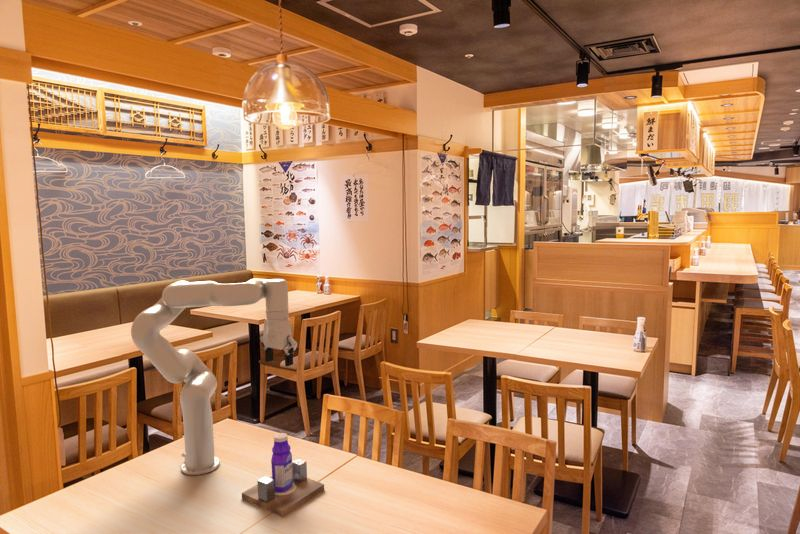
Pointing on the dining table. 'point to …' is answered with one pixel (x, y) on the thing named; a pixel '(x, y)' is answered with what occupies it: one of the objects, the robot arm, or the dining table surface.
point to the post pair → (267, 484)
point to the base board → (286, 497)
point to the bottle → (281, 463)
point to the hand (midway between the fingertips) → (279, 363)
